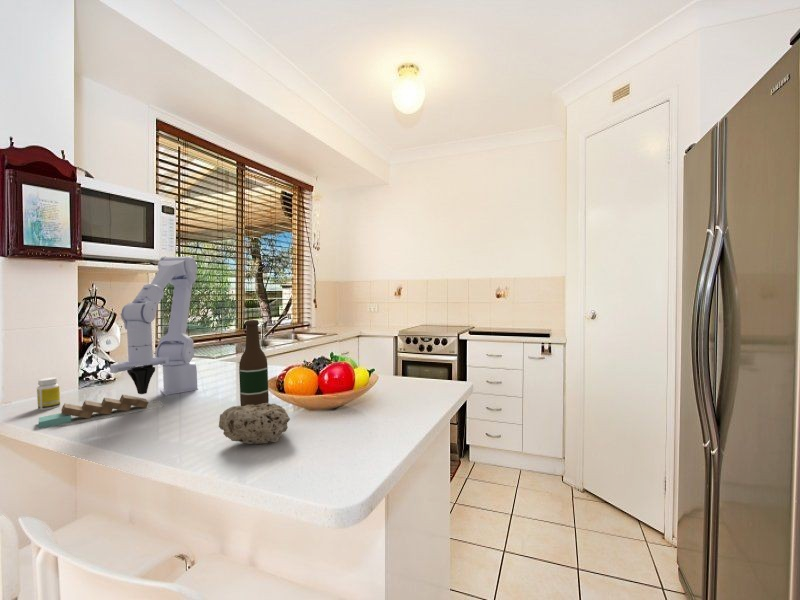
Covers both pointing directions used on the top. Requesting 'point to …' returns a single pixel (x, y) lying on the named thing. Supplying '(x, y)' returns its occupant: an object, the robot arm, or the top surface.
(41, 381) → the supplement bottle
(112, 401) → the tile
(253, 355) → the beer bottle
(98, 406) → the tile
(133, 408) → the runner mat
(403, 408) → the top surface
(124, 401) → the tile
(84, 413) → the tile
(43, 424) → the tile
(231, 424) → the pumice stone
